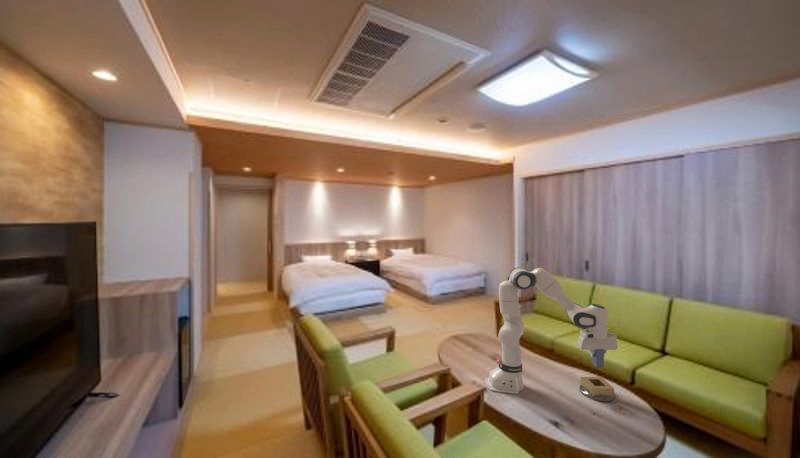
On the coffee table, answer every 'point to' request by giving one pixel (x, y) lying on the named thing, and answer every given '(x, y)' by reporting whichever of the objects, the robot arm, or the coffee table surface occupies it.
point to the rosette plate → (597, 389)
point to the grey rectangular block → (598, 358)
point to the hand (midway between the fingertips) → (597, 356)
